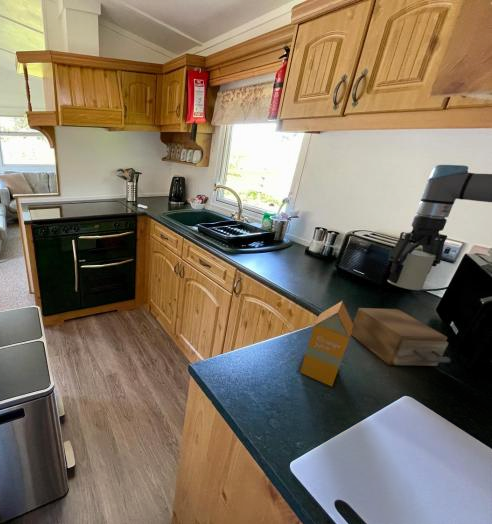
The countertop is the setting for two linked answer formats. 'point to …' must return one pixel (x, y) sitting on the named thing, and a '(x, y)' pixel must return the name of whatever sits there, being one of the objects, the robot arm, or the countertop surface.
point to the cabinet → (389, 331)
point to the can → (415, 270)
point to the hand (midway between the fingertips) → (405, 282)
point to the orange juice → (327, 344)
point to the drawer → (421, 352)
